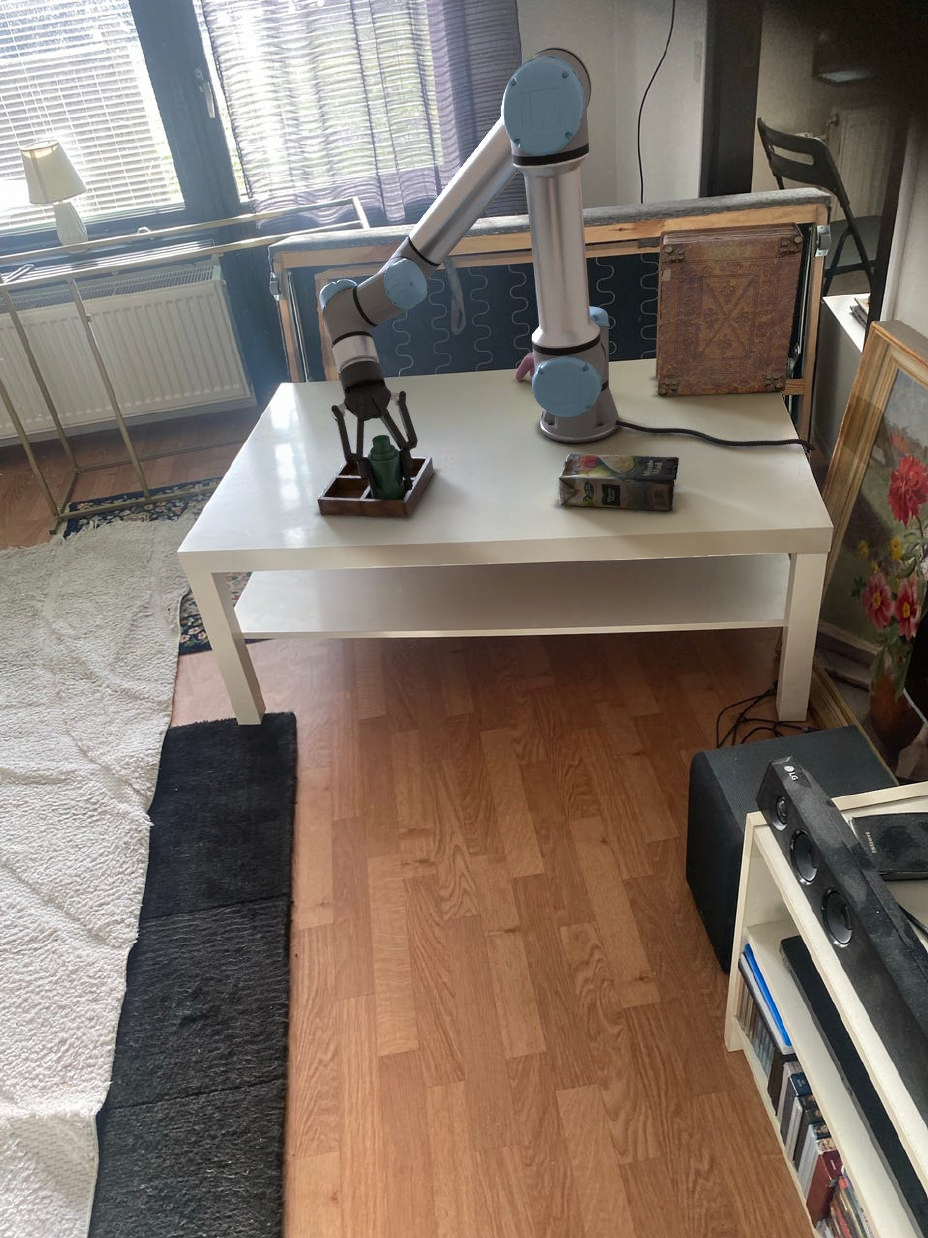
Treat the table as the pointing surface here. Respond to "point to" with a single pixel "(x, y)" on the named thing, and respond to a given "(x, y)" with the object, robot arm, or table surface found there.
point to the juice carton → (618, 481)
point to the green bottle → (386, 469)
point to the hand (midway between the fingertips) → (392, 491)
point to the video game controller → (526, 366)
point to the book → (726, 308)
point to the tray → (356, 498)
